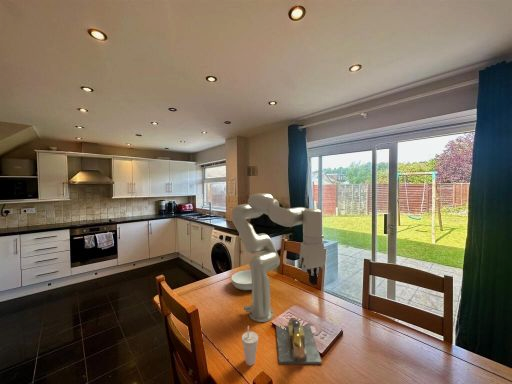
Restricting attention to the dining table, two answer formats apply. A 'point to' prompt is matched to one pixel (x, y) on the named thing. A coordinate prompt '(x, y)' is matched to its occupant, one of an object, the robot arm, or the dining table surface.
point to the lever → (296, 333)
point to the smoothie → (250, 346)
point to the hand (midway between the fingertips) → (313, 283)
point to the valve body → (296, 354)
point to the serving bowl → (242, 280)
